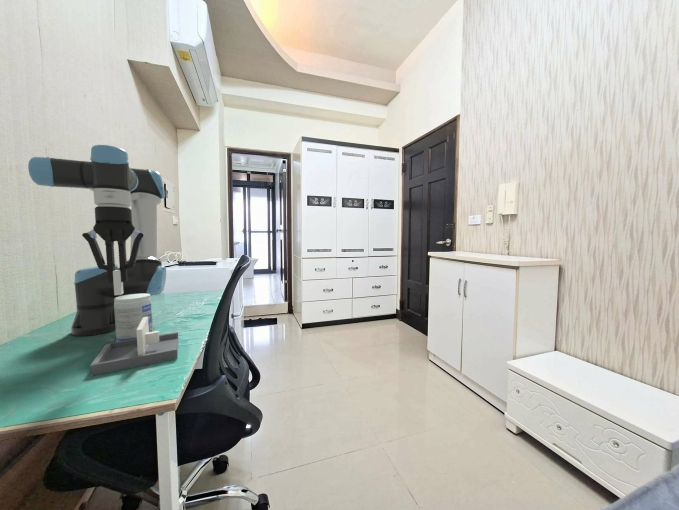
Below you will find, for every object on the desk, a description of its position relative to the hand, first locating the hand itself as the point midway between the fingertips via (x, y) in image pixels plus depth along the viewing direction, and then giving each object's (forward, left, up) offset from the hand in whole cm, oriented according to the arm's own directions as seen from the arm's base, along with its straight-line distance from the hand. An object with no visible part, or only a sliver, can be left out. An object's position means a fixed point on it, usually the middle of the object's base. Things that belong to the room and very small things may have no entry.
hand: (119, 294), depth 73 cm
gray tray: (0, +4, -18) cm, 18 cm away
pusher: (0, +6, -17) cm, 18 cm away
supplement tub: (-14, +1, -18) cm, 23 cm away
